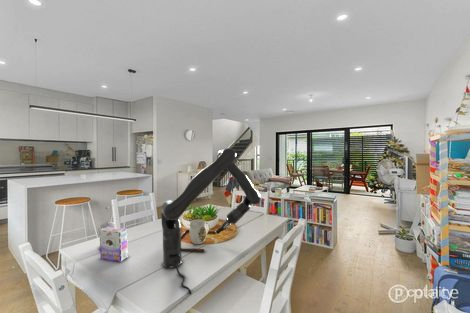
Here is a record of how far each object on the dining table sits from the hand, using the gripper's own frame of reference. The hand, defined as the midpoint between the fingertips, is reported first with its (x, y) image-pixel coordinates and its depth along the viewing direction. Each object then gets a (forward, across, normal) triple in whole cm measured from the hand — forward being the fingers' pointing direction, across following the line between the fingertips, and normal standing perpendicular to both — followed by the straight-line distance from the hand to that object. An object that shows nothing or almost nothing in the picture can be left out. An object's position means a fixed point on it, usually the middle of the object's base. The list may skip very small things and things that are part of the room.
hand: (217, 232), depth 140 cm
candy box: (+41, +28, -32) cm, 59 cm away
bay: (+15, 0, -6) cm, 17 cm away
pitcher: (+13, +1, -4) cm, 13 cm away
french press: (+51, +16, -42) cm, 68 cm away
